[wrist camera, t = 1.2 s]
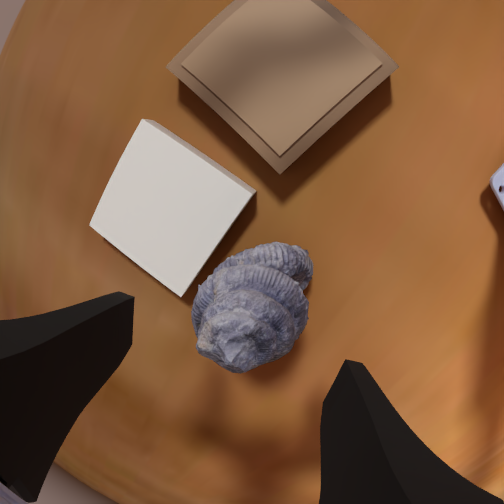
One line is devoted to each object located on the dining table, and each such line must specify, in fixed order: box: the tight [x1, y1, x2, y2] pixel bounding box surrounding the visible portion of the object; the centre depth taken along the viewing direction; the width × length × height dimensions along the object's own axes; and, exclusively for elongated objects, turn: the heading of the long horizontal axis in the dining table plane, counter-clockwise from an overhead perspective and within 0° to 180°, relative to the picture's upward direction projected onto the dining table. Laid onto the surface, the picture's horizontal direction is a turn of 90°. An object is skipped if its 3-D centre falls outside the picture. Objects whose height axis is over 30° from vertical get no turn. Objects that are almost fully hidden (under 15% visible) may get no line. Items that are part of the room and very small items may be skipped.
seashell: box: [191, 242, 313, 373], centre depth 15 cm, size 5×5×10 cm
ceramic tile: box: [90, 119, 256, 297], centre depth 19 cm, size 8×8×2 cm
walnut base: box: [166, 0, 399, 174], centre depth 15 cm, size 9×9×2 cm
